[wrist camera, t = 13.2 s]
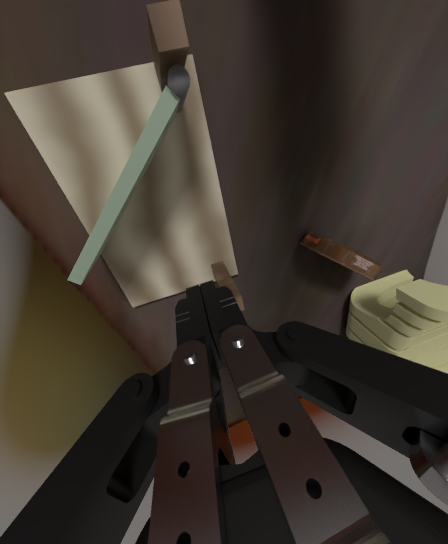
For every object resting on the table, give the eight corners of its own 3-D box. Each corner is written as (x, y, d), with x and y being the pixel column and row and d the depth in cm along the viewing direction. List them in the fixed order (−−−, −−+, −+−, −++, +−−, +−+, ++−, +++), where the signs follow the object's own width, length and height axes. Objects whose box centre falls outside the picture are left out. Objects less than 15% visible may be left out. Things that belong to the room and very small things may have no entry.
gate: (185, 102, 22) (194, 77, 15) (103, 253, 28) (81, 287, 21) (172, 89, 21) (175, 57, 14) (90, 247, 27) (63, 281, 20)
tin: (289, 238, 35) (321, 260, 28) (300, 222, 34) (335, 239, 27) (344, 265, 41) (382, 288, 34) (355, 252, 40) (396, 273, 33)
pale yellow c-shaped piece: (346, 259, 40) (453, 321, 25) (416, 235, 42) (557, 280, 27) (336, 352, 56) (398, 425, 41) (387, 333, 58) (465, 396, 43)
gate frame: (191, 57, 21) (210, -15, 12) (236, 271, 36) (260, 312, 27) (9, 95, 20) (-126, 43, 11) (133, 304, 34) (121, 359, 25)
